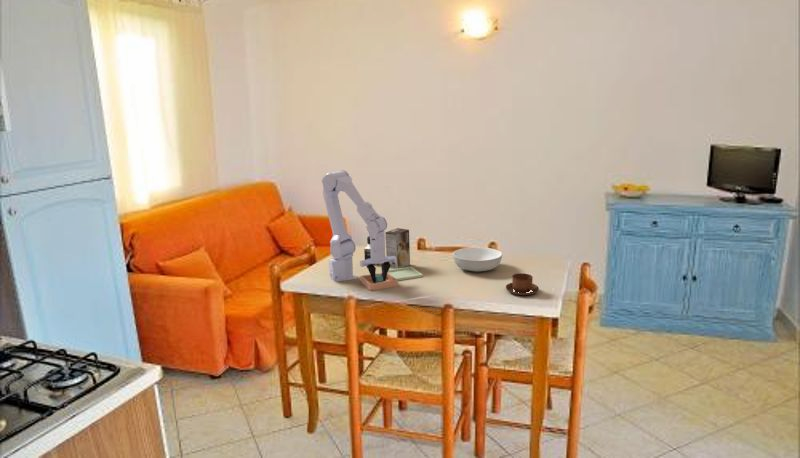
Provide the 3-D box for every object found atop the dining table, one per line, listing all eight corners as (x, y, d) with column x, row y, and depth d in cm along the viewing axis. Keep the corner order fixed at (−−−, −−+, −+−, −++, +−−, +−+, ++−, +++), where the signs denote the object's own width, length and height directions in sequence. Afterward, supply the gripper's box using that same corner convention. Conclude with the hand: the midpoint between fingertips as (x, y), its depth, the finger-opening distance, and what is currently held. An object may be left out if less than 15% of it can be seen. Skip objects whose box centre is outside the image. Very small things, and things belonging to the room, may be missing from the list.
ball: (376, 285, 215) (375, 276, 214) (373, 282, 218) (372, 274, 217) (384, 284, 216) (384, 275, 215) (381, 281, 220) (381, 273, 219)
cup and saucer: (544, 291, 207) (544, 275, 205) (528, 300, 198) (528, 284, 197) (516, 284, 214) (516, 269, 213) (499, 293, 206) (499, 277, 204)
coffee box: (398, 262, 246) (398, 227, 242) (410, 264, 242) (409, 229, 238) (386, 267, 239) (385, 231, 235) (397, 270, 235) (396, 233, 231)
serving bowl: (499, 261, 244) (500, 246, 242) (503, 276, 224) (504, 260, 222) (452, 261, 246) (452, 246, 244) (452, 276, 226) (452, 260, 224)
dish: (369, 291, 210) (369, 284, 209) (360, 282, 221) (360, 275, 220) (398, 287, 214) (397, 280, 214) (387, 278, 225) (387, 271, 224)
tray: (395, 282, 220) (395, 278, 220) (384, 273, 231) (384, 270, 230) (422, 277, 224) (422, 274, 224) (411, 269, 235) (410, 266, 235)
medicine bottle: (364, 263, 245) (363, 237, 243) (370, 259, 252) (369, 233, 249) (379, 264, 243) (378, 238, 241) (384, 259, 250) (384, 234, 247)
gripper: (363, 253, 208) (364, 287, 211) (398, 248, 213) (399, 281, 216) (357, 248, 214) (359, 281, 217) (392, 244, 219) (393, 276, 222)
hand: (378, 281), depth 217 cm, fingers closed on ball, 4 cm apart
